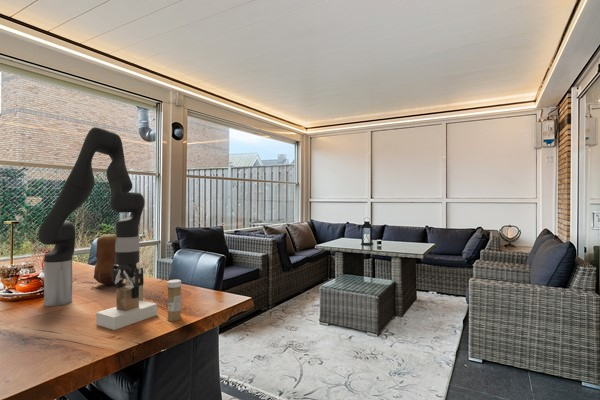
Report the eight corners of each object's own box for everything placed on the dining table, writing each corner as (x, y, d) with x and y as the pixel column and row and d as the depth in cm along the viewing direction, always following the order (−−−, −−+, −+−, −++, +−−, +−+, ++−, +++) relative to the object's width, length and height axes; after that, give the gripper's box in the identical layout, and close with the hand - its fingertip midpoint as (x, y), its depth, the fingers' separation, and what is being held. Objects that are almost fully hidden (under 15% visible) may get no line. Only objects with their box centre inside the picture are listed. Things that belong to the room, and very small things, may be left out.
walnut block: (116, 308, 115) (116, 288, 115) (130, 304, 119) (129, 285, 119) (125, 311, 112) (125, 290, 112) (138, 307, 116) (138, 287, 117)
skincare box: (125, 309, 126) (125, 277, 126) (125, 306, 130) (125, 275, 130) (143, 307, 129) (143, 275, 129) (143, 303, 133) (143, 273, 133)
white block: (96, 324, 111) (96, 312, 111) (139, 310, 125) (139, 299, 125) (114, 330, 106) (114, 317, 106) (157, 314, 120) (157, 303, 120)
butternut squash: (121, 279, 174) (120, 232, 174) (130, 284, 164) (130, 233, 164) (90, 284, 164) (90, 234, 164) (98, 289, 154) (98, 236, 154)
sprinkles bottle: (164, 319, 116) (164, 280, 116) (177, 316, 119) (177, 278, 119) (171, 322, 112) (171, 282, 113) (183, 319, 116) (183, 280, 116)
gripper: (150, 249, 115) (150, 296, 115) (125, 246, 122) (124, 290, 122) (130, 252, 109) (129, 302, 109) (104, 249, 116) (104, 296, 116)
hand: (127, 296), depth 115 cm, fingers open, 8 cm apart
